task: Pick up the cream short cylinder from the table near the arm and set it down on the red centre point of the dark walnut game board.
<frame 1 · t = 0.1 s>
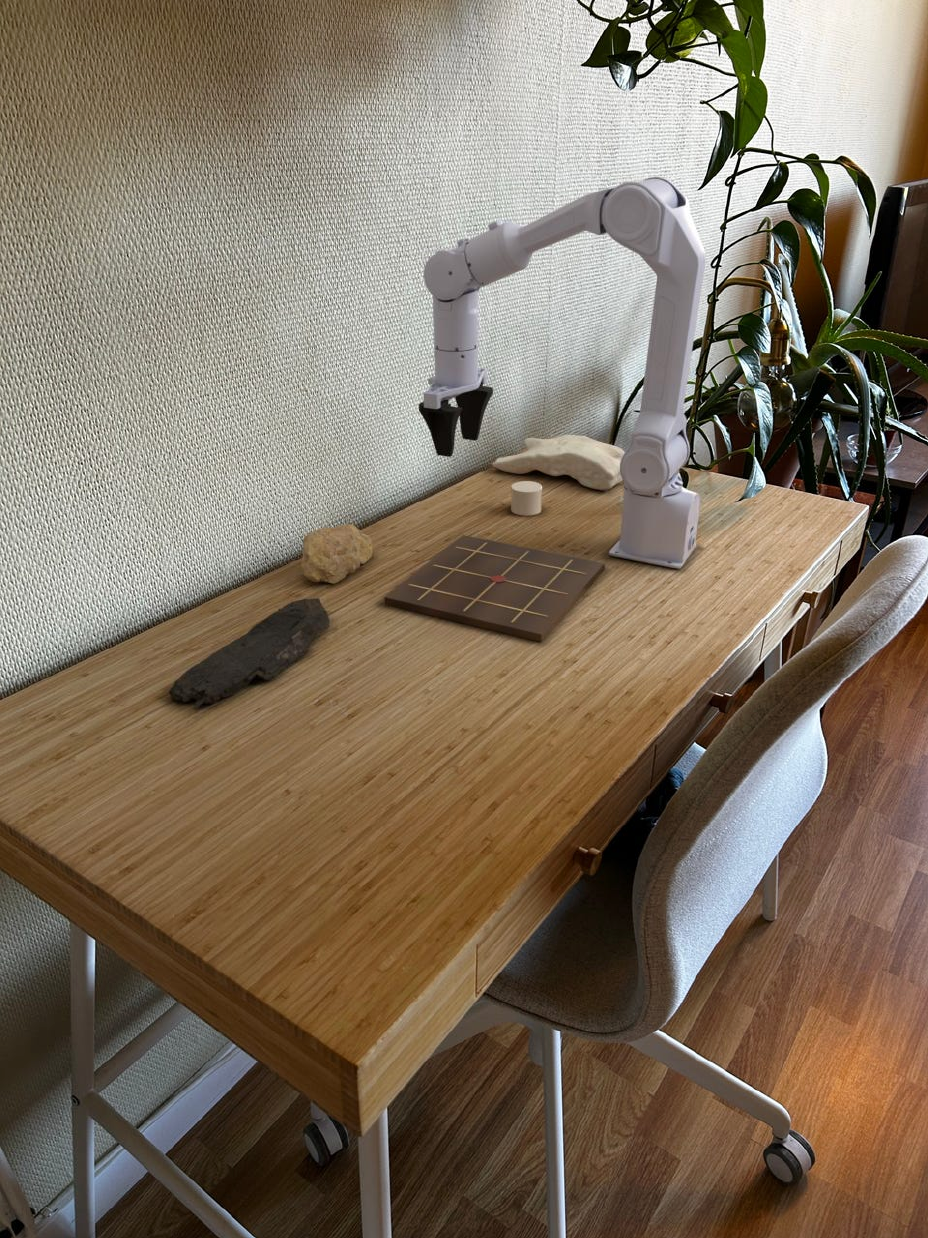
hand: (457, 447, 126), 10 cm above the table, tool pointing down, fingers open, 7 cm apart
board: (498, 586, 111), on the table
stone tool: (337, 569, 116), on the table
decorative stone: (568, 469, 148), on the table
cream short cylinder: (526, 509, 132), on the table
wood: (265, 659, 97), on the table
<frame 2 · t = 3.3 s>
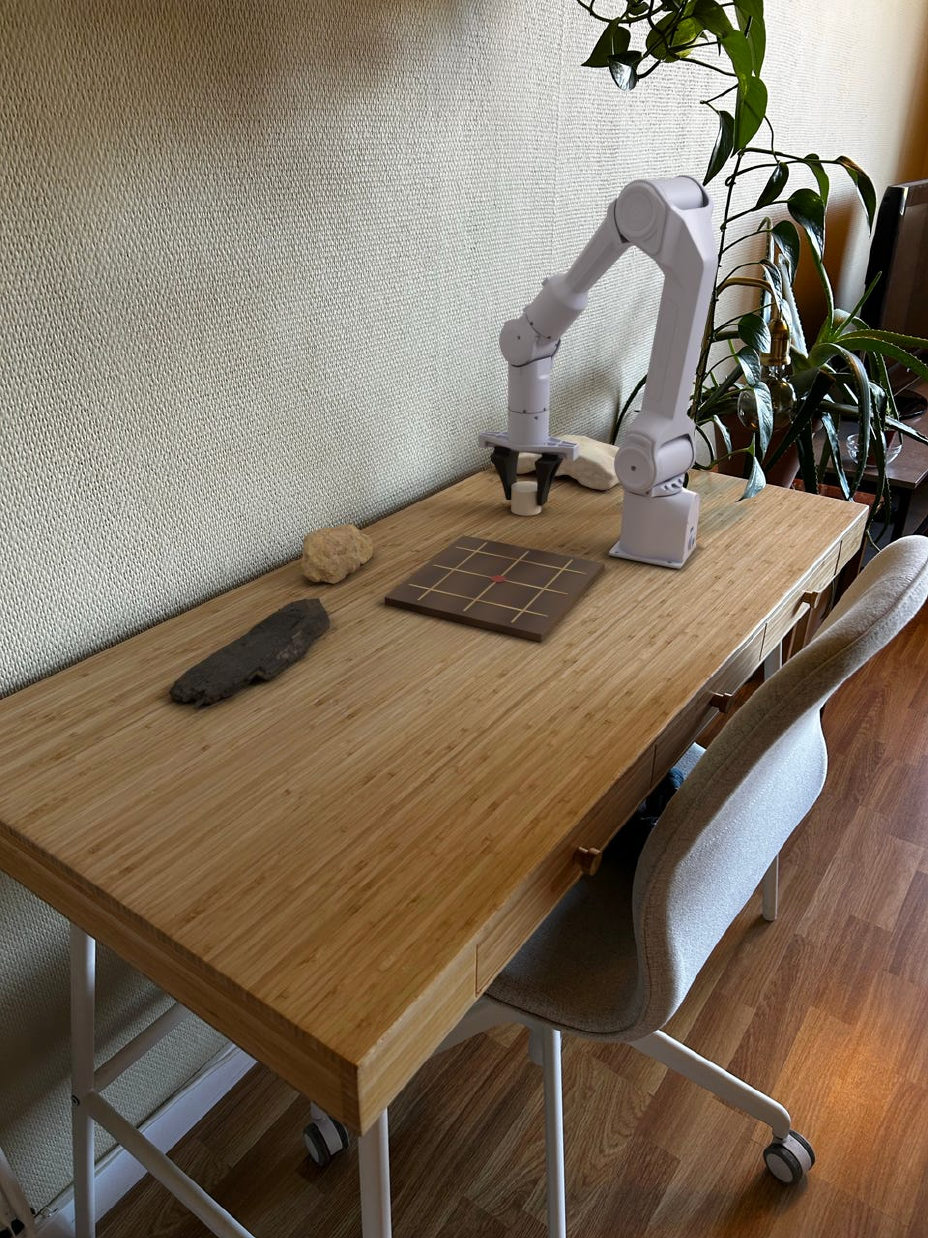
hand: (526, 500, 132), 1 cm above the table, tool pointing down, fingers closed on cream short cylinder, 4 cm apart
cream short cylinder: (526, 509, 132), on the table, touching gripper
everything else where it was.
when the fingers open (2 cm above the table, at t = 8.3 s): cream short cylinder stays where it is, resting on board.
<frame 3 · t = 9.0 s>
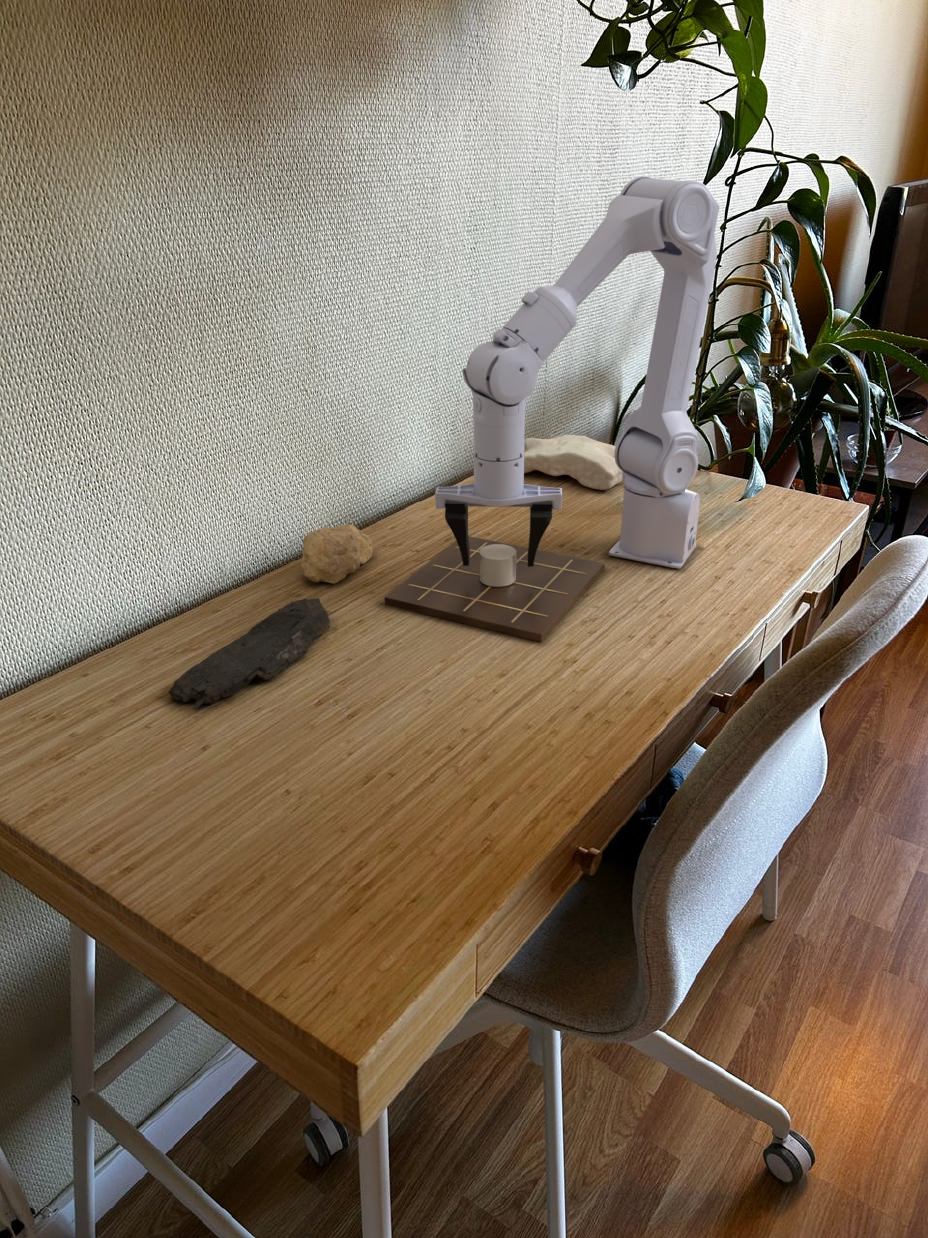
hand: (498, 562, 109), 3 cm above the table, tool pointing down, fingers open, 7 cm apart
cream short cylinder: (497, 578, 110), point 1 cm above the table, touching board
everything else where it was.
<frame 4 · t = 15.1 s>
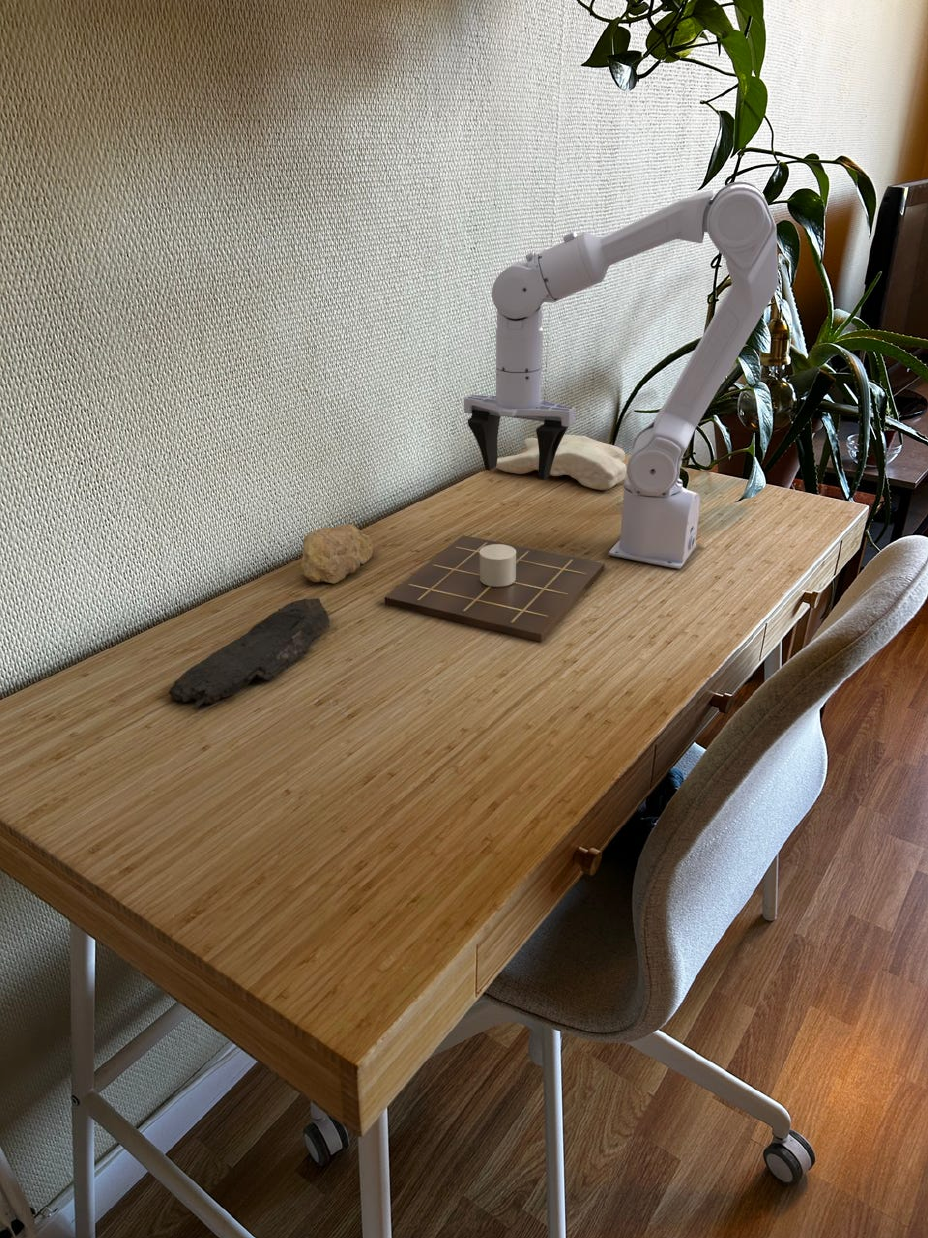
hand: (517, 472, 119), 9 cm above the table, tool pointing down, fingers open, 7 cm apart
nothing on the table moved.
at the end: cream short cylinder 0.0 cm off-centre on the board, point 1.1 cm above the board's base; cream short cylinder tilted 0°; the gripper is holding nothing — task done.
